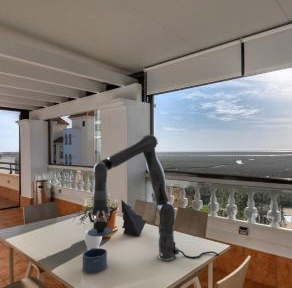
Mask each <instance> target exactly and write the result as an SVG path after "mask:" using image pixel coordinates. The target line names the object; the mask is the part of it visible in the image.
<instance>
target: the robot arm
mask: <svg viewBox="0 0 292 288" xmlns="http://www.w3.org/2000/svg"><path fill="white" fill-rule="evenodd" d="M157 145H158V138H157V137H156V136H155V135H154V134H145V135H143V136H142V137H141V138H140V140H139V141H138V142H136V143H134V144H133V145H131V146H128V147H126V148H124V149H122V150H119V151H118V152H115V153H114V154H112V155H110V156H109V157H107V158H104V159H102V160H100V161H98V162H96V163H95V164H94V166H93V177H94V179H93V180H94V181H93V195H92V197H93V201H92V205H93V207H92V210H88V211H87V216H88V219H89V221H90V223H92V224H93V229H95V230H97V223H96V221H97V220H98V219H99V218H100V217H103V220H104V229H106V228H108V221H111V219H112V216H113V211H114V210H113V209H112V208H108V197H109V196H108V171H110V170H111V169H115V168H117V167H119V166H121V165H123V164H124V163H126V162H128V161H129V160H132V159H133V158H134V157H136V156H138V155H140V154H142V153H143V156H144V159H145V164H146V170H147V173H148V177H149V178H148V179H149V182H150V184H151V188H152V191H153V194H154V196H155V202H156V209H157V213H158V214H159V222H158V223H159V224H158V259H160V260H161V261H163V262H168V261H172V260H174V259H176V255H179V253H181V254H182V255H183V257H185V258H187V259H198V258H199V259H200V258H201V257H202V256H203V255H207V254H214V255H216V256H220V254H218V252H216V251H213V250H212V251H203V252H201V253H200V254H199V255H196V256H190V255H187V254H185V253H184V251H183V250H181V249H179V248H178V247H177V246H176V241H175V224H176V210H175V206H174V204H172V203H171V202H170V200H169V199H170V198H169V197H168V193H167V181H166V175H165V171H164V169H163V166H162V164H161V162H160V160H159V158H158V156H157V151H156V147H157ZM107 213H108V214H107ZM93 214H94V217H92V215H93ZM106 214H107V216H106ZM222 279H223V280H224V277H223V276H221V278H220V280H222Z"/></svg>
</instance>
